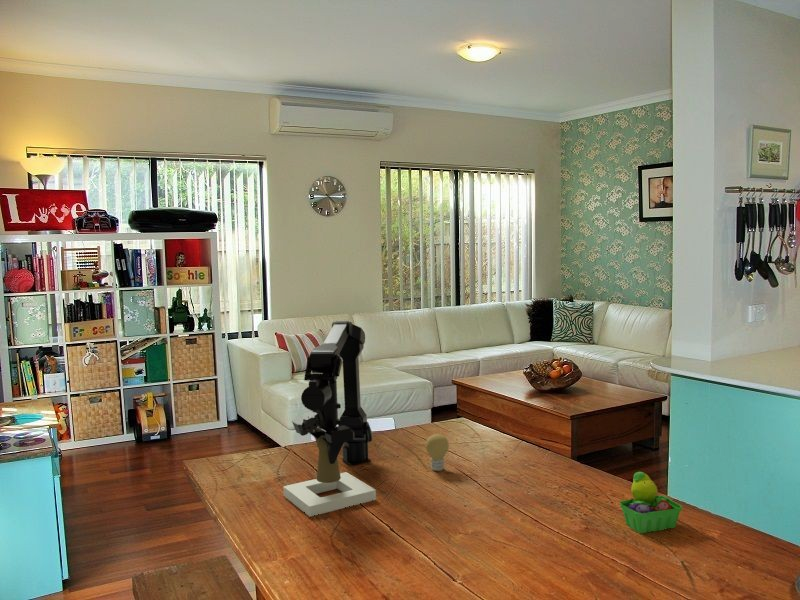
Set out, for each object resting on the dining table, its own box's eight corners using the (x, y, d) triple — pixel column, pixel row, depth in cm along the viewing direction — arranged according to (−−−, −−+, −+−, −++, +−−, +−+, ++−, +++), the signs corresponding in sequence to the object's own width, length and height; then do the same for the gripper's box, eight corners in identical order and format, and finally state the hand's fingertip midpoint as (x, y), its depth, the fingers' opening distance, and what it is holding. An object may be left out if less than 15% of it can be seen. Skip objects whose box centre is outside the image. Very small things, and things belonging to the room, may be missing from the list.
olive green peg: (311, 480, 169) (310, 437, 168) (325, 472, 174) (323, 431, 173) (332, 484, 166) (330, 440, 165) (345, 476, 171) (343, 433, 170)
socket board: (346, 481, 182) (346, 472, 181) (376, 499, 168) (375, 489, 168) (283, 495, 172) (283, 486, 172) (309, 516, 159) (309, 506, 158)
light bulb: (449, 465, 192) (448, 431, 191) (448, 473, 185) (448, 438, 184) (426, 465, 192) (426, 431, 191) (425, 473, 186) (424, 438, 185)
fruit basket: (638, 537, 144) (638, 485, 143) (614, 521, 152) (614, 472, 151) (684, 529, 147) (684, 479, 146) (658, 514, 155) (658, 466, 154)
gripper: (281, 397, 172) (283, 457, 173) (311, 413, 156) (314, 478, 157) (320, 391, 177) (323, 449, 179) (354, 405, 162) (356, 468, 163)
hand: (328, 461), depth 169 cm, fingers closed on olive green peg, 4 cm apart
